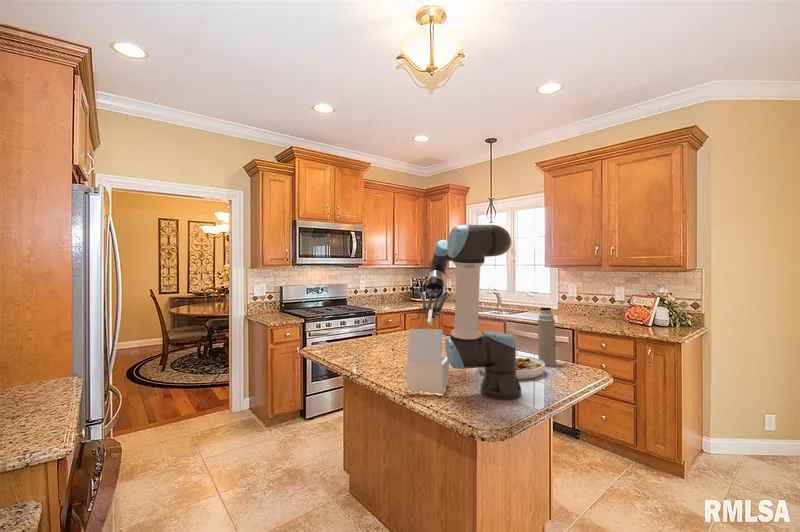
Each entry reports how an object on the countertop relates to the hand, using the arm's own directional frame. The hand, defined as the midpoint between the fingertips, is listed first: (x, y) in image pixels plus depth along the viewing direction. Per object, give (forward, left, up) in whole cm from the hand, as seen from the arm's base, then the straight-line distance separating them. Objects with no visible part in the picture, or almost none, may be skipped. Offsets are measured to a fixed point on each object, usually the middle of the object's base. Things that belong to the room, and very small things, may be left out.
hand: (429, 323), depth 162 cm
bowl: (+5, -41, -26) cm, 48 cm away
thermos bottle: (+10, -63, -26) cm, 69 cm away
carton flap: (-11, +6, -7) cm, 14 cm away
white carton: (-7, +4, -25) cm, 27 cm away
